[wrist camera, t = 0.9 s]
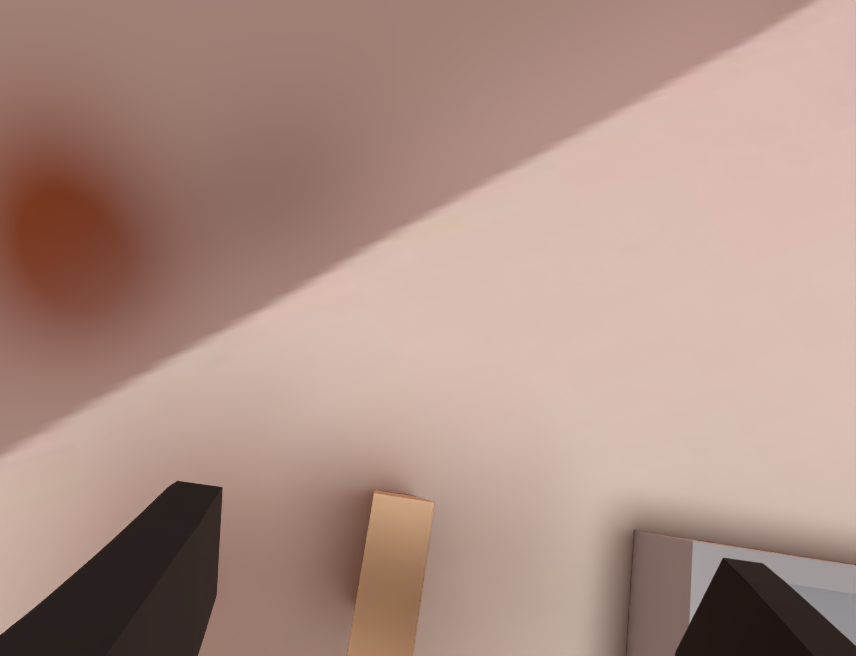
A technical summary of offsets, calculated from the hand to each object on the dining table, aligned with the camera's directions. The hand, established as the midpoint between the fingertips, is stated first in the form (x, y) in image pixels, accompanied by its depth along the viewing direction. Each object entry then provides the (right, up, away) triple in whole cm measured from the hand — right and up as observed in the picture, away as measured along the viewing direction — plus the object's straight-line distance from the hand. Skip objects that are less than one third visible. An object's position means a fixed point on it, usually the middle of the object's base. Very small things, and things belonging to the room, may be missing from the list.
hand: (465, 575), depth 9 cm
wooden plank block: (-2, -4, +14) cm, 14 cm away
